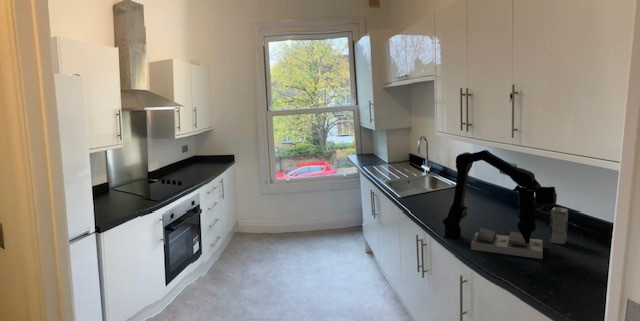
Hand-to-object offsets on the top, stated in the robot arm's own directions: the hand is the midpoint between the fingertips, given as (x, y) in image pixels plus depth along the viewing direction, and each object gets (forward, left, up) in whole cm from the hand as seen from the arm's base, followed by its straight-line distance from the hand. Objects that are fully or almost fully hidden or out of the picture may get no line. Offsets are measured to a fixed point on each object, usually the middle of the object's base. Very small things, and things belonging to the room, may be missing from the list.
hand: (527, 239), depth 154 cm
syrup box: (+11, +16, -5) cm, 20 cm away
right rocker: (-4, 0, -1) cm, 4 cm away
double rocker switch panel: (-10, 0, -5) cm, 11 cm away
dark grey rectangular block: (-16, 0, -1) cm, 16 cm away
